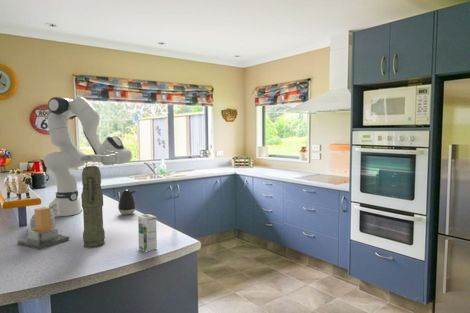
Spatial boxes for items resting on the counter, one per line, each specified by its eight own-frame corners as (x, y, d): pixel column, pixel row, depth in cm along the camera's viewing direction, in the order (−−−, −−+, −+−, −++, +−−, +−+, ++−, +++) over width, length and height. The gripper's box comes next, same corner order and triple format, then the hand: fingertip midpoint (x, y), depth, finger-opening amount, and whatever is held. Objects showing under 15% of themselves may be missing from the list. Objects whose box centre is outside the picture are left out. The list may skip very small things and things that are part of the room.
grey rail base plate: (48, 235, 159) (47, 223, 158) (69, 240, 151) (68, 227, 151) (17, 244, 146) (17, 230, 146) (39, 249, 139) (38, 235, 138)
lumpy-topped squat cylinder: (29, 234, 160) (28, 217, 159) (34, 227, 172) (34, 211, 171) (53, 232, 164) (52, 215, 163) (57, 225, 176) (56, 210, 175)
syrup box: (138, 249, 138) (137, 215, 137) (150, 246, 142) (149, 213, 141) (145, 253, 133) (143, 218, 132) (157, 249, 138) (156, 215, 137)
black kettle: (136, 215, 197) (136, 190, 196) (118, 216, 193) (117, 191, 192) (135, 211, 207) (134, 187, 206) (118, 213, 203) (117, 188, 202)
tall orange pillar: (36, 239, 148) (34, 209, 147) (45, 236, 152) (44, 207, 151) (42, 240, 146) (40, 210, 145) (51, 238, 150) (50, 208, 149)
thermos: (104, 239, 152) (101, 164, 149) (105, 247, 141) (102, 167, 138) (83, 242, 148) (80, 165, 146) (83, 250, 137) (79, 168, 135)
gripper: (95, 151, 189) (73, 153, 177) (120, 152, 179) (99, 153, 167) (95, 162, 189) (74, 164, 177) (120, 163, 180) (99, 165, 167)
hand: (86, 159), depth 172 cm, fingers open, 8 cm apart
